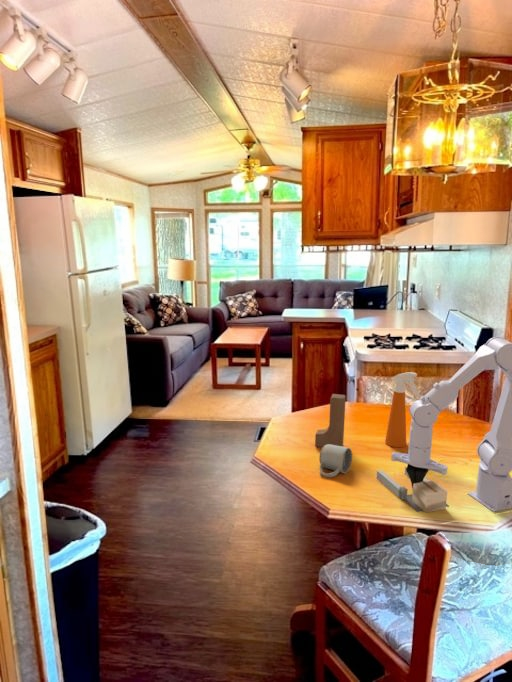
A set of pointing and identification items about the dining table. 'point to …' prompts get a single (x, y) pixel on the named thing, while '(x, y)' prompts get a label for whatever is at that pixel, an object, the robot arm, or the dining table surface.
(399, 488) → the chute
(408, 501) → the mat
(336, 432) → the wooden block
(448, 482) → the dining table surface
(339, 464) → the ceramic mug
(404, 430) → the spray bottle
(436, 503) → the block
